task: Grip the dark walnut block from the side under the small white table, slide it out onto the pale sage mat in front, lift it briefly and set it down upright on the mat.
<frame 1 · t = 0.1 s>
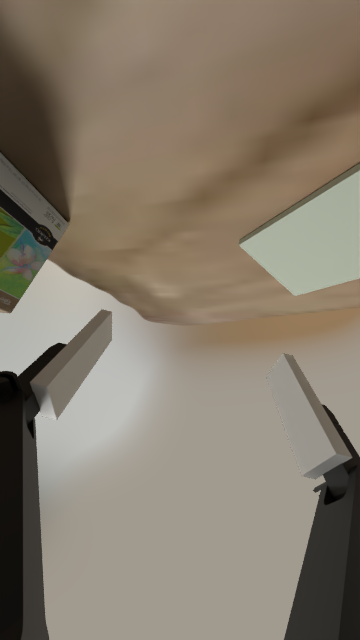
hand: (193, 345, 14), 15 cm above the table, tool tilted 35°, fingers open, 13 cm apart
mat: (331, 243, 21), on the table
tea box: (4, 199, 25), on the table
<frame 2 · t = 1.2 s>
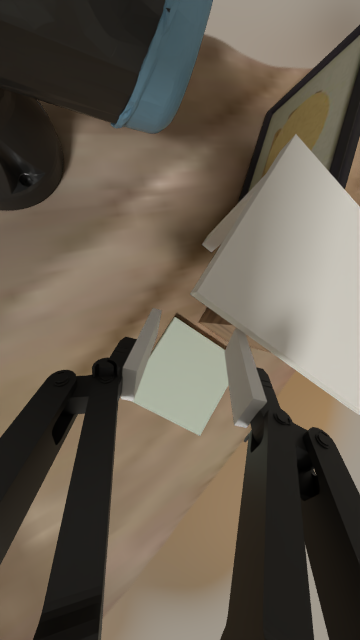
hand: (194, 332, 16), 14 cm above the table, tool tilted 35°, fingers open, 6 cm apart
small white table: (225, 309, 32), on the table
mat: (186, 376, 30), on the table
picture frame: (266, 186, 34), on the table
walnut block: (225, 309, 32), on the table
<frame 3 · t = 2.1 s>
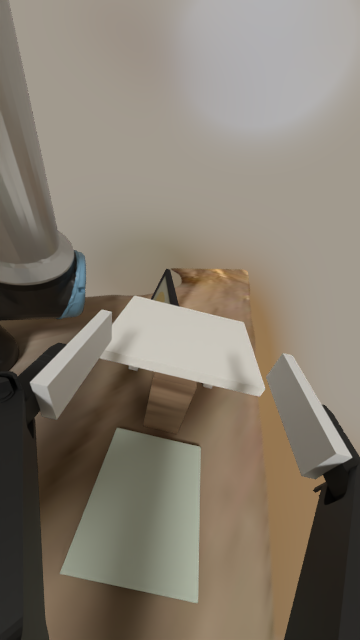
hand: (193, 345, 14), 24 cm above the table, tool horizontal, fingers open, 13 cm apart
small white table: (164, 405, 35), on the table
mat: (147, 496, 24), on the table
picture frame: (161, 330, 55), on the table
walnut block: (164, 405, 35), on the table
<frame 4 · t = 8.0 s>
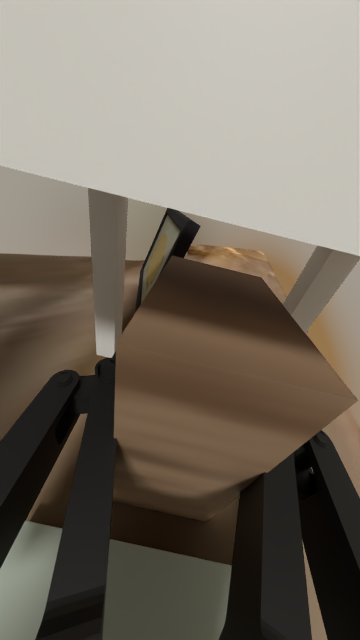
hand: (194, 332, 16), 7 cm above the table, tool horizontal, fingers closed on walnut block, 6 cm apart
small white table: (170, 435, 15), on the table
picture frame: (161, 299, 35), on the table
walnut block: (170, 435, 15), on the table, touching gripper
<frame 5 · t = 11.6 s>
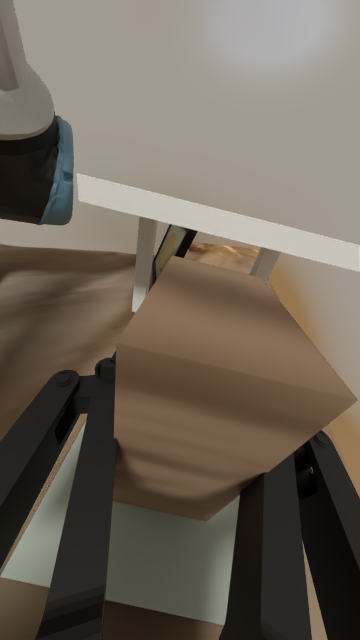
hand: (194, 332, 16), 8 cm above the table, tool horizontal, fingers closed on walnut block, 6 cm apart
small white table: (181, 349, 26), on the table
mat: (164, 452, 15), on the table
picture frame: (170, 283, 46), on the table
walnut block: (170, 435, 15), point 1 cm above the table, touching gripper
when the fingers open (9 cm above the table, at t = 15.2 s): walnut block drops 1 cm, resting on mat.
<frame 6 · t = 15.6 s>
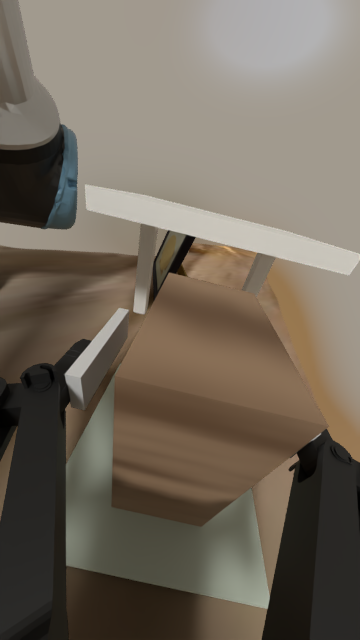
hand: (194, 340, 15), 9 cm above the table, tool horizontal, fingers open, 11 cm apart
small white table: (181, 348, 27), on the table
mat: (166, 445, 16), on the table
picture frame: (170, 284, 47), on the table
walnut block: (167, 441, 16), point 1 cm above the table, touching mat
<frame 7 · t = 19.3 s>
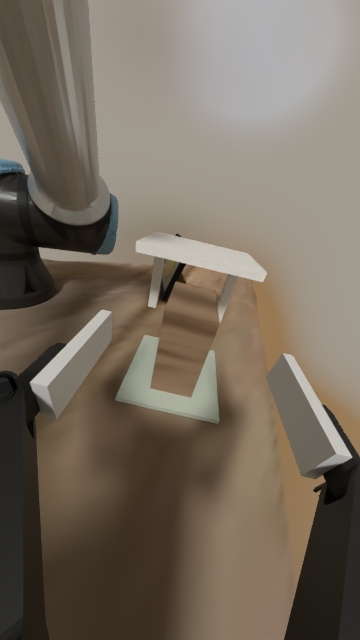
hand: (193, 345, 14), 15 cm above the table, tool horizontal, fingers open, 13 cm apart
small white table: (181, 329, 42), on the table
mat: (173, 372, 30), on the table
picture frame: (172, 287, 62), on the table
walnut block: (174, 369, 30), point 1 cm above the table, touching mat
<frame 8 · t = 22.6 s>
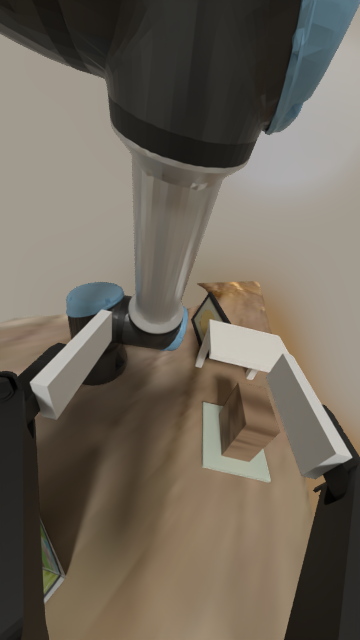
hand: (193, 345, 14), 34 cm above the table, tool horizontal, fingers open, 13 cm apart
small white table: (225, 390, 54), on the table
mat: (231, 437, 43), on the table
picture frame: (206, 338, 74), on the table
walnut block: (232, 436, 42), point 1 cm above the table, touching mat
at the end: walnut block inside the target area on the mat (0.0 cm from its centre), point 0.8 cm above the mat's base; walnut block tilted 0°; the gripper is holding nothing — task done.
